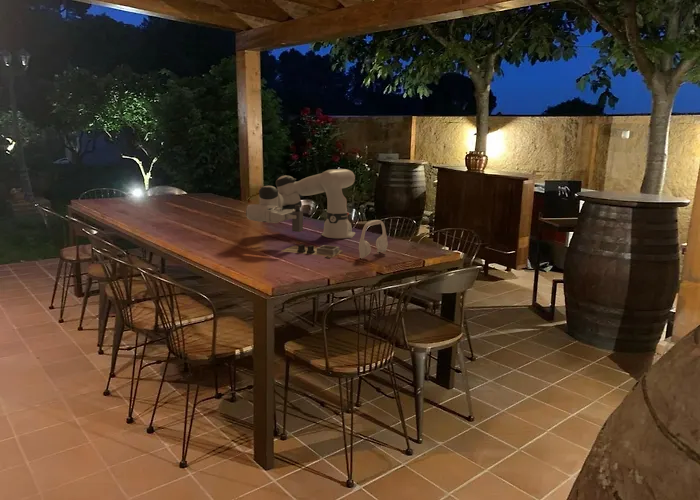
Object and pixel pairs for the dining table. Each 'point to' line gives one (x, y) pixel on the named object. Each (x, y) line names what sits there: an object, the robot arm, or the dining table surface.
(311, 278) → the dining table surface
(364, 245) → the headset
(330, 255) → the cable board
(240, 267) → the dining table surface
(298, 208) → the grey square bottle
